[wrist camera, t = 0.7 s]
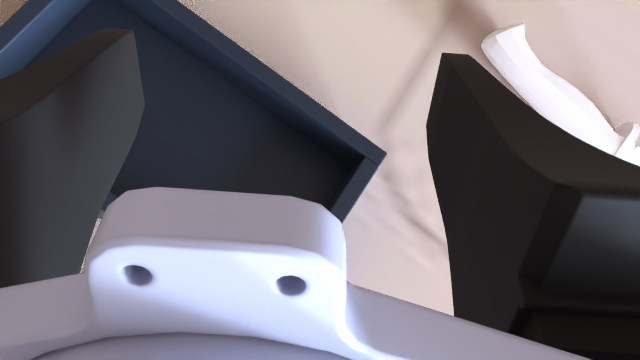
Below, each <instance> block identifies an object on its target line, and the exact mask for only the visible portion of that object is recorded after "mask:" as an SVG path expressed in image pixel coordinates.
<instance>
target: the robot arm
mask: <svg viewBox="0 0 640 360" xmlns="http://www.w3.org/2000/svg"><path fill="white" fill-rule="evenodd" d="M144 106H145V102H144V96H143V89H142V82H141V76H140V69H139V63H138V56H137V49H136V43H135V36H134V30H128V29H115V28H106V29H103V30H100V31H98V32H96V33H94V34H92V35H90V36H88V37H86V38H84V39H82V40H80V41H78V42H76V43H74V44H72V45H71V46H69V47H67V48H65V49H63V50H61V51H59V52H57V53H55V54H53V55H52V56H50V57H48V58H46V59H44V60H42V61H39V62H37V63H35V64H33V65H31V66H29V67H27V68H25V69H23V70H20V71H18V72H16V73H14V74H12V75H10V76H7V77H5V78H2V79H0V360H640V166H638V165H635V164H633V163H630V162H628V161H625V160H623V159H620V158H618V157H616V156H613V155H611V154H609V153H607V152H605V151H603V150H600V149H598V148H596V147H594V146H592V145H590V144H588V143H586V142H584V141H582V140H581V139H579V138H577V137H575V136H573V135H571V134H570V133H568V132H567V131H565V130H563V129H562V128H560V127H558V126H557V125H555V124H554V123H552V122H550V121H549V120H547V119H546V118H544V117H543V116H542V115H540V114H539V113H538V112H536V111H535V110H534V109H532V108H531V107H530V106H528V105H527V104H526V103H524V102H523V101H522V100H521V99H519V98H518V97H517V96H516V95H514V94H513V93H512V92H511V91H510V90H508V89H507V88H506V87H505V86H504V85H503V84H502V83H500V82H499V81H498V80H497V79H496V78H495V77H494V76H493V75H492V74H490V73H489V72H488V71H487V70H486V69H485V68H484V67H483V66H482V65H480V64H479V63H478V62H477V61H476V60H475V59H473V58H472V57H471V56H469V55H467V54H453V53H442V56H441V60H440V65H439V69H438V74H437V78H436V83H435V87H434V92H433V96H432V101H431V106H430V110H429V115H428V119H427V124H426V130H427V145H428V157H429V162H430V167H431V171H432V176H433V180H434V185H435V189H436V193H437V197H438V202H439V206H440V210H441V214H442V219H443V223H444V227H445V232H446V238H447V244H448V253H449V263H450V272H451V283H452V295H453V306H454V316H451V315H448V314H445V313H442V312H439V311H435V310H432V309H429V308H426V307H423V306H419V305H416V304H413V303H410V302H407V301H404V300H400V299H397V298H394V297H391V296H388V295H385V294H381V293H378V292H375V291H372V290H369V289H365V288H362V287H359V286H356V285H353V284H351V283H349V282H348V281H347V280H346V240H345V236H344V232H343V228H342V224H341V221H340V220H338V219H337V218H336V217H335V216H334V215H333V214H332V213H330V212H329V211H328V210H327V209H326V208H325V207H323V206H322V205H321V204H318V203H314V202H311V201H307V200H303V199H300V198H296V197H292V196H282V195H268V194H253V193H239V192H224V191H210V190H195V189H181V188H167V187H151V188H144V189H137V190H129V191H126V192H125V193H123V194H122V195H121V196H120V197H118V198H117V199H116V200H115V201H113V202H112V203H111V204H110V205H108V207H107V209H106V211H105V214H104V216H103V218H102V220H101V222H100V224H99V227H98V229H97V231H96V233H95V235H94V238H93V240H92V242H91V244H90V246H89V249H88V251H87V253H86V250H87V247H88V244H89V241H90V238H91V235H92V232H93V229H94V226H95V223H96V220H97V218H98V215H99V213H100V211H101V208H102V206H103V204H104V202H105V200H106V198H107V196H108V194H109V191H110V189H111V187H112V185H113V183H114V181H115V179H116V177H117V175H118V173H119V171H120V169H121V167H122V165H123V163H124V161H125V159H126V157H127V154H128V152H129V150H130V148H131V146H132V144H133V142H134V140H135V137H136V134H137V131H138V128H139V124H140V121H141V117H142V114H143V110H144ZM85 253H86V258H85V267H84V273H80V270H81V266H82V263H83V260H84V256H85Z"/></svg>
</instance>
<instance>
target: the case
mask: <svg viewBox="0 0 640 360" xmlns="http://www.w3.org/2000/svg"><path fill="white" fill-rule="evenodd" d="M106 28H115V29H128V30H134V36H135V43H136V49H137V56H138V63H139V69H140V76H141V82H142V89H143V96H144V102H145V106H144V110H143V114H142V117H141V121H140V124H139V128H138V131H137V134H136V137H135V140H134V142H133V144H132V146H131V148H130V150H129V152H128V154H127V157H126V159H125V161H124V163H123V165H122V167H121V169H120V171H119V173H118V175H117V177H116V179H115V181H114V183H113V185H112V187H111V189H110V191H109V194H108V196H107V198H106V200H105V202H104V204H103V206H102V208H101V211H100V213H99V215H98V217H99V218H100V219H102V218H103V216H104V214H105V211H106V209H107V207H108V205H110V204H111V203H112V202H113V201H115V200H116V199H117V198H118V197H120V196H121V195H122V194H123V193H125V192H126V191H129V190H137V189H144V188H151V187H167V188H181V189H195V190H210V191H224V192H239V193H253V194H268V195H282V196H292V197H296V198H300V199H303V200H307V201H311V202H314V203H318V204H321V205H322V206H323V207H325V208H326V209H327V210H328V211H329V212H330V213H332V214H333V215H334V216H335V217H336V218H337V219H338V220H340V221H341V224H342V223H343V222H344V220H345V218H346V217H347V215H348V214H349V212H350V211H351V209H352V208H353V206H354V205H355V203H356V201H357V200H358V198H359V197H360V195H361V194H362V192H363V191H364V189H365V188H366V186H367V184H368V183H369V181H370V180H371V178H372V177H373V175H374V174H375V172H376V171H377V169H378V167H379V166H380V164H381V163H382V161H383V160H384V158H385V157H386V155H387V153H386V152H385V151H383V150H382V149H381V148H379V147H378V146H377V145H375V144H374V143H372V142H371V141H370V140H368V139H367V138H366V137H364V136H363V135H361V134H360V133H359V132H357V131H356V130H355V129H353V128H352V127H350V126H349V125H348V124H346V123H345V122H344V121H342V120H341V119H339V118H338V117H337V116H335V115H334V114H333V113H331V112H330V111H328V110H327V109H326V108H324V107H323V106H322V105H320V104H319V103H317V102H316V101H315V100H313V99H312V98H311V97H309V96H308V95H306V94H305V93H304V92H302V91H301V90H300V89H298V88H297V87H295V86H294V85H293V84H291V83H290V82H289V81H287V80H286V79H284V78H283V77H282V76H280V75H279V74H278V73H276V72H275V71H273V70H272V69H271V68H269V67H268V66H267V65H265V64H264V63H262V62H261V61H260V60H258V59H257V58H255V57H254V56H253V55H251V54H250V53H249V52H247V51H246V50H244V49H243V48H242V47H240V46H239V45H238V44H236V43H235V42H233V41H232V40H231V39H229V38H228V37H227V36H225V35H224V34H222V33H221V32H220V31H218V30H217V29H216V28H214V27H213V26H211V25H210V24H209V23H207V22H206V21H205V20H203V19H202V18H200V17H199V16H198V15H196V14H195V13H194V12H192V11H191V10H189V9H188V8H187V7H185V6H184V5H183V4H181V3H180V2H178V1H177V0H28V1H27V2H26V3H25V4H24V5H23V6H22V7H21V8H20V9H19V10H18V11H17V12H16V13H15V14H14V15H13V16H12V17H10V18H9V19H8V20H7V21H6V22H5V23H4V24H3V25H2V26H1V27H0V79H2V78H5V77H7V76H10V75H12V74H14V73H16V72H18V71H20V70H23V69H25V68H27V67H29V66H31V65H33V64H35V63H37V62H39V61H42V60H44V59H46V58H48V57H50V56H52V55H53V54H55V53H57V52H59V51H61V50H63V49H65V48H67V47H69V46H71V45H72V44H74V43H76V42H78V41H80V40H82V39H84V38H86V37H88V36H90V35H92V34H94V33H96V32H98V31H100V30H103V29H106Z"/></svg>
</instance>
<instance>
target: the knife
mask: <svg viewBox="0 0 640 360" xmlns="http://www.w3.org/2000/svg"><path fill="white" fill-rule="evenodd" d="M524 33H525V25H524V24H523V23H522V24H517V25H511V26H508V27H504V28H501V29H499V30H497V31H494V32H492V33H490V34H489V35H488V36H487V37H486V38H485V39H484V40H483V42H482V44H481V48H482V50H483V52H484V54H485V55H486V57H487V58H488V59H489V60H490V62H491V63H492V64H493V65H494V67H495V68H496V69H497V70H498V71H499V73H500V74H501V75H502V76H503V77H504V78H505V79H506V80H507V81H508V82H509V83H510V84H511V85H512V87H513V88H514V89H515V90H516V91H517V92H518V93H519V94H520V95H521V96H522V97H523V98H524V99H525V100H526V101H527V102H528V103H529V104H530V105H531V106H532V107H533V108H534V109H535V110H536V111H537V112H538V113H539V114H540V115H542V116H543V117H544V118H546V119H547V120H549V121H550V122H552V123H554V124H555V125H557V126H558V127H560V128H562V129H563V130H565V131H567V132H568V133H570V134H571V135H573V136H575V137H577V138H579V139H581V140H582V141H584V142H586V143H588V144H590V145H592V146H594V147H596V148H598V149H600V150H603V151H605V152H607V153H609V154H611V155H613V156H616V157H618V158H620V159H623V160H625V161H628V162H630V163H633V164H635V165H638V166H640V147H636V148H634V147H635V144H634V142H635V141H636V139H637V138H638V136H639V134H640V125H638V124H635V123H633V122H628V123H625V124H623V125H621V126H619V127H618V128H617V129H616V130H615V131H613V129H612V128H611V126H610V125H609V124H608V122H607V121H606V119H605V118H604V117H603V115H602V114H601V113H600V111H599V110H598V109H597V108H596V107H595V105H594V104H593V103H592V102H591V100H590V99H588V98H587V97H586V96H585V95H584V94H582V93H581V92H580V91H579V90H578V89H576V88H575V87H574V86H572V85H571V84H569V83H568V82H566V81H565V80H563V79H562V78H561V77H559V76H558V75H556V74H555V73H553V72H552V71H550V70H549V69H547V68H546V67H545V66H544V65H543V64H542V63H541V62H540V61H539V60H538V58H537V57H536V56H535V54H534V53H533V51H532V50H531V48H530V47H529V45H528V43H527V41H526V40H525V36H524Z"/></svg>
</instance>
